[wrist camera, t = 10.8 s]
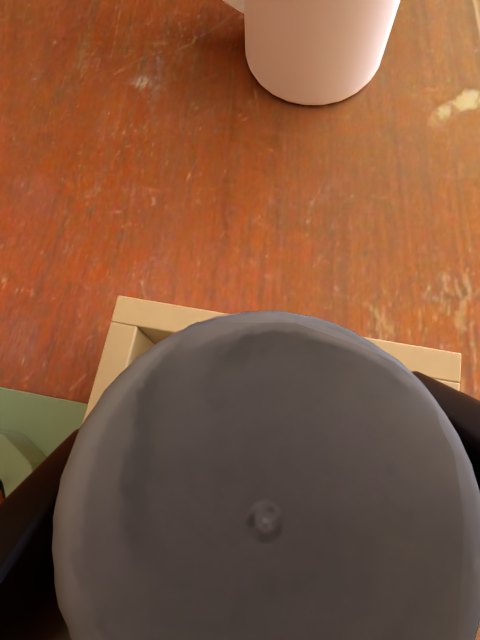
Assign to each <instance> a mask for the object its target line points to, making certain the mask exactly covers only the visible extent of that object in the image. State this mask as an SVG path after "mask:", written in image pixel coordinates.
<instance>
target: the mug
mask: <svg viewBox="0 0 480 640" xmlns="http://www.w3.org/2000/svg"><path fill="white" fill-rule="evenodd" d="M221 1H223V2H224V3H226V4H228V5H229V6H231V7H233V8H234V9H236V10H238V11H240V12H241V13H243V14H244V20H245V54H246V59H247V62H248V65H249V68H250V70H251V72H252V74H253V75H254V76H255V78H256V79H257V81H258V82H259V84H260V85H261V86H263V87H264V88H265V89H266V90H268V91H269V92H270V93H271V94H273V95H275V96H277V97H279V98H281V99H284V100H286V101H288V102H293V103H297V104H302V105H325V104H330V103H334V102H338V101H342V100H344V99H346V98H348V97H350V96H352V95H354V94H356V93H357V92H358V91H359V90H360V89H362V88H363V87H364V86H365V85H366V84H367V83H368V82H369V81H370V80H371V79H372V77H373V76H374V74H375V73H376V71H377V70H378V68H379V65H380V62H381V59H382V56H383V53H384V49H385V46H386V43H387V40H388V37H389V34H390V31H391V28H392V24H393V21H394V18H395V15H396V12H397V9H398V6H399V3H400V0H221Z"/></svg>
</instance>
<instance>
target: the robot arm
mask: <svg viewBox="0 0 480 640" xmlns="http://www.w3.org/2000/svg"><path fill="white" fill-rule="evenodd" d="M411 372H412V373H413V374H414V375H415V376H416V377H417V378H418V379H419V380H420V381H421V382H422V383H423V384H424V385H425V386H426V388H427V389H428V390H429V392H430V393H431V394H432V396H433V397H434V398H435V400H436V401H437V403H438V404H439V406H440V407H441V408H442V410H443V411H444V413H445V414H446V416H447V417H448V419H449V420H450V422H451V424H452V425H453V427H454V429H455V430H456V432H457V434H458V435H459V437H460V439H461V442H462V444H463V446H464V448H465V451H466V453H467V455H468V457H469V460H470V462H471V464H472V467H473V471H474V475H475V478H476V481H477V484H478V488H479V491H480V401H479V400H477V399H475V398H473V397H471V396H468V395H466V394H464V393H462V392H460V391H458V390H456V389H454V388H452V387H450V386H448V385H446V384H444V383H441V382H439V381H437V380H435V379H433V378H431V377H429V376H427V375H425V374H423V373H421V372H418V371H411ZM79 429H80V428H79ZM79 429H76V430H75V431H73V432H72V433H71V434H70V435H69V436H68V437H67V438H66V439H65V440H64V441H63V442H62V443H61V444H60V445H59V446H58V447H57V448H56V449H55V450H54V451H53V452H52V453H51V454H50V455H49V456H48V457H47V458H46V459H45V460H44V461H43V462H42V463H41V464H40V465H39V466H38V467H37V468H36V469H35V470H34V471H33V472H32V473H31V474H30V475H29V476H28V477H26V478H25V479H24V480H23V481H22V482H21V483H20V484H19V485H18V486H17V487H16V488H15V489H14V490H13V491H12V492H11V493H10V494H9V495H8V496H7V497H6V498H5V499H4V500H3V501H2V502H1V503H0V640H70V636H69V632H68V628H67V625H66V623H65V620H64V618H63V616H62V614H61V611H60V609H59V607H58V601H57V596H56V590H55V582H54V562H53V554H52V539H53V515H54V509H55V504H56V498H57V495H58V491H59V485H60V478H61V476H62V473H63V471H64V468H65V466H66V463H67V461H68V458H69V455H70V453H71V450H72V448H73V445H74V442H75V440H76V437H77V434H78V431H79Z"/></svg>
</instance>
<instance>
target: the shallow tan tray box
mask: <svg viewBox="0 0 480 640" xmlns="http://www.w3.org/2000/svg"><path fill="white" fill-rule="evenodd" d="M222 315H226V314H225V313H219V312H213V311H207V310H201V309H196V308H190V307H184V306H178V305H172V304H166V303H160V302H154V301H149V300H143V299H137V298H131V297H125V296H118V297H117V301H116V304H115V308H114V311H113V315H112V319H111V323H110V326H109V330H108V334H107V337H106V341H105V344H104V348H103V351H102V355H101V358H100V362H99V366H98V369H97V373H96V376H95V380H94V383H93V387H92V391H91V394H90V398H89V401H88V405H87V408H86V412H85V416H84V419H83V422H84V421H85V419H86V418H87V416H88V415H89V413H90V412H91V411H92V409H93V408H94V406H95V405H96V403H97V402H98V400H99V399H100V397H101V395H102V394H103V392H104V390H105V389H106V388H107V387H108V386H109V385H110V384H111V383H112V382H113V381H114V380H115V379H116V378H117V377H118V375H119V374H120V373H121V372H123V371H124V370H125V369H126V368H127V367H128V366H129V365H130V364H131V363H132V362H133V361H134V360H135V359H136V357H138V356H139V355H141V354H142V353H144V352H145V351H147V350H148V349H150V348H151V347H153V346H154V345H155V344H157V343H158V342H160V341H161V340H163V339H165V338H167V337H168V336H170V335H171V334H172V333H175V332H177V331H179V330H183V329H185V328H186V327H188V326H189V325H191V324H194V323H196V322H201V321H204V320H207V319H210V318H212V317H216V316H222ZM363 338H365V339H367V340H369V341H371V342H373V343H374V344H375V345H377V346H378V347H380V348H381V349H382V350H384V351H385V352H387V353H389V354H390V355H392V356H393V357H395V358H396V359H398V360H399V361H400V362H401V363H402V364H403V365H404V366H405V367H406V368H407V369H409V370H410V371H418V372H421V373H423V374H425V375H427V376H429V377H431V378H433V379H435V380H437V381H439V382H441V383H444V384H446V385H448V386H450V387H452V388H454V389H456V390H458V391H459V387H460V385H459V382H460V372H461V354H460V353H454V352H448V351H443V350H437V349H431V348H425V347H419V346H413V345H407V344H401V343H396V342H390V341H384V340H378V339H372V338H366V337H363ZM82 424H83V423H82Z"/></svg>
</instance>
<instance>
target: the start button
mask: <svg viewBox="0 0 480 640" xmlns="http://www.w3.org/2000/svg"><path fill="white" fill-rule="evenodd" d="M3 500H4V498H3V494H2V491H1V489H0V503H1V502H2V501H3Z"/></svg>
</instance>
